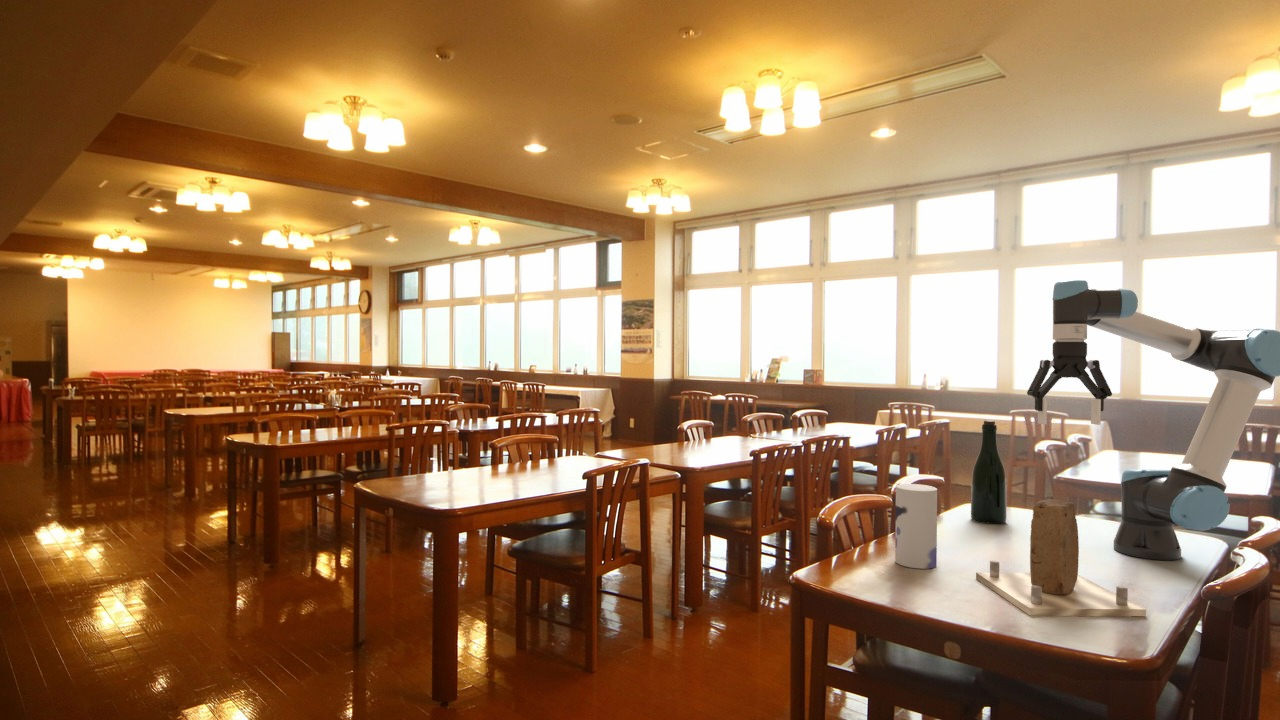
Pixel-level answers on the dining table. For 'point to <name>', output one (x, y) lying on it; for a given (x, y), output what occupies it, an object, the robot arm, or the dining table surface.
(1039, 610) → the peg stand
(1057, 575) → the block
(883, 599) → the dining table surface
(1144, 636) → the dining table surface
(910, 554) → the container
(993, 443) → the beer bottle
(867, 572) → the dining table surface
